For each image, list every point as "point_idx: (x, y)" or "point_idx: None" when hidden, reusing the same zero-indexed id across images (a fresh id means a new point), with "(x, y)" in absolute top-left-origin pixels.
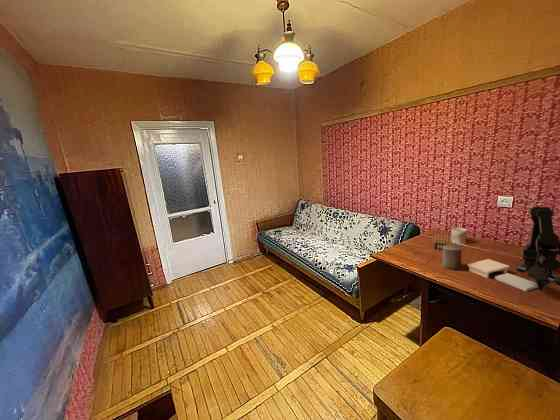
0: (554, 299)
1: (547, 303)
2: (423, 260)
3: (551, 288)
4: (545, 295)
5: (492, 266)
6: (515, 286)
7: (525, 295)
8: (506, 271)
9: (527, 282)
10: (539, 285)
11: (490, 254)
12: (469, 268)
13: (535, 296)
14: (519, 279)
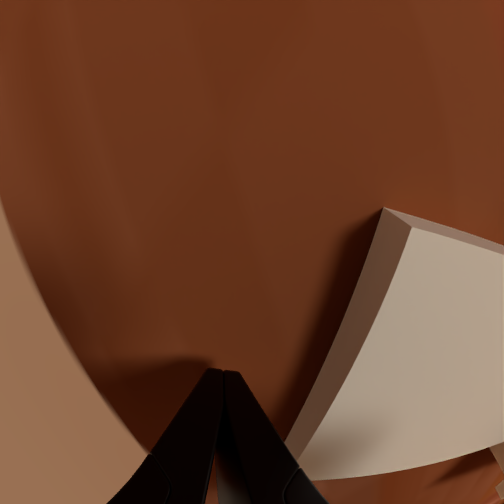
0: (24, 246)
1: (30, 13)
2: None
3: None
4: (134, 288)
5: None
6: (498, 245)
7: (338, 5)
8: (495, 452)
9: (397, 437)
10: (246, 445)
11: (487, 499)
12: None
13: (211, 97)
14: (459, 428)
